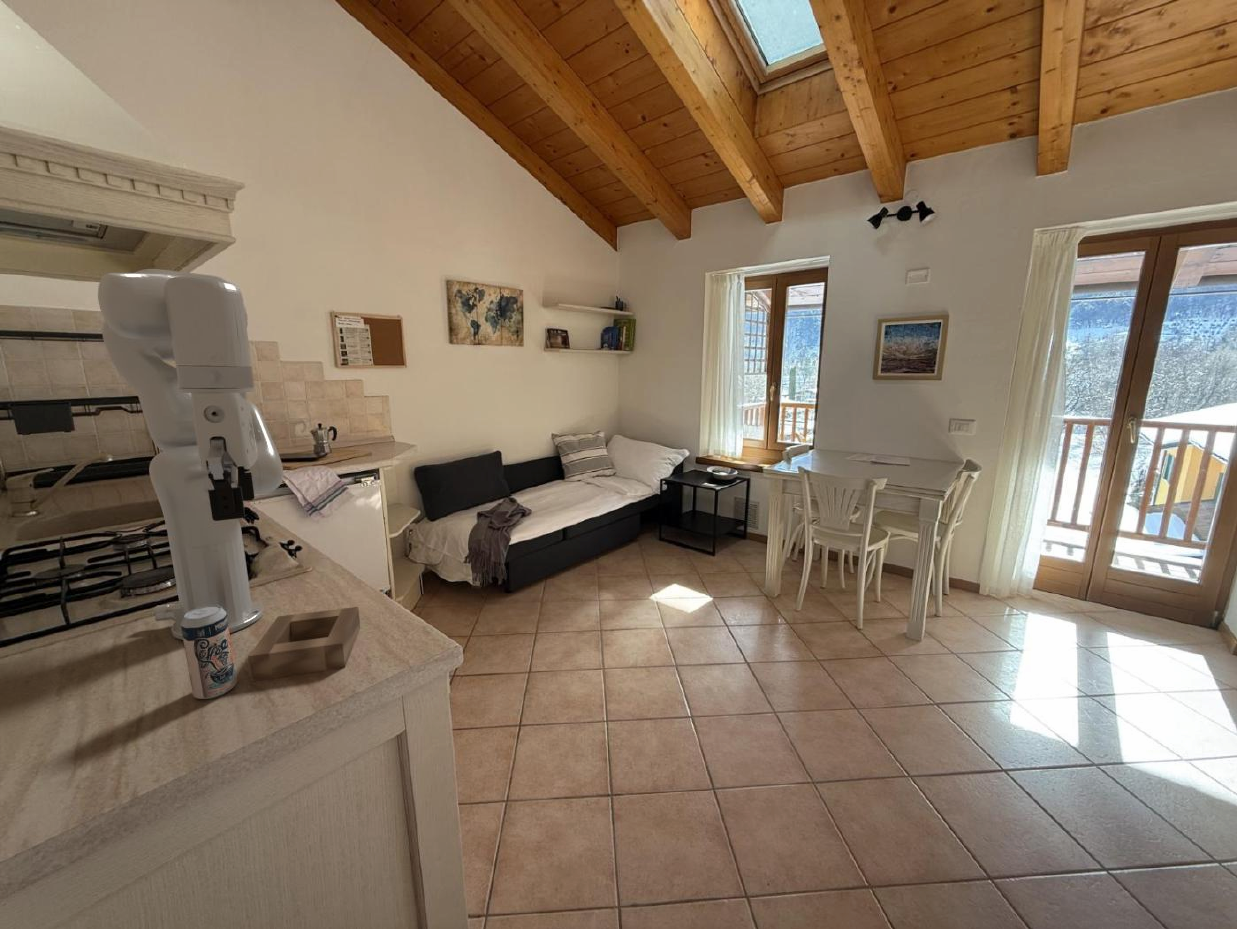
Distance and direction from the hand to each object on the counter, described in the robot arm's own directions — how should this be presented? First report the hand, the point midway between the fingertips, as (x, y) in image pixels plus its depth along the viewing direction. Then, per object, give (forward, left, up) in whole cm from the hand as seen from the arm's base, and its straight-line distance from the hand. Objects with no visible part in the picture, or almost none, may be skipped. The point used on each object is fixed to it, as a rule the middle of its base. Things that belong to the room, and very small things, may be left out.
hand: (235, 509), depth 66 cm
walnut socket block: (+5, +6, -26) cm, 27 cm away
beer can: (-5, -1, -26) cm, 26 cm away
